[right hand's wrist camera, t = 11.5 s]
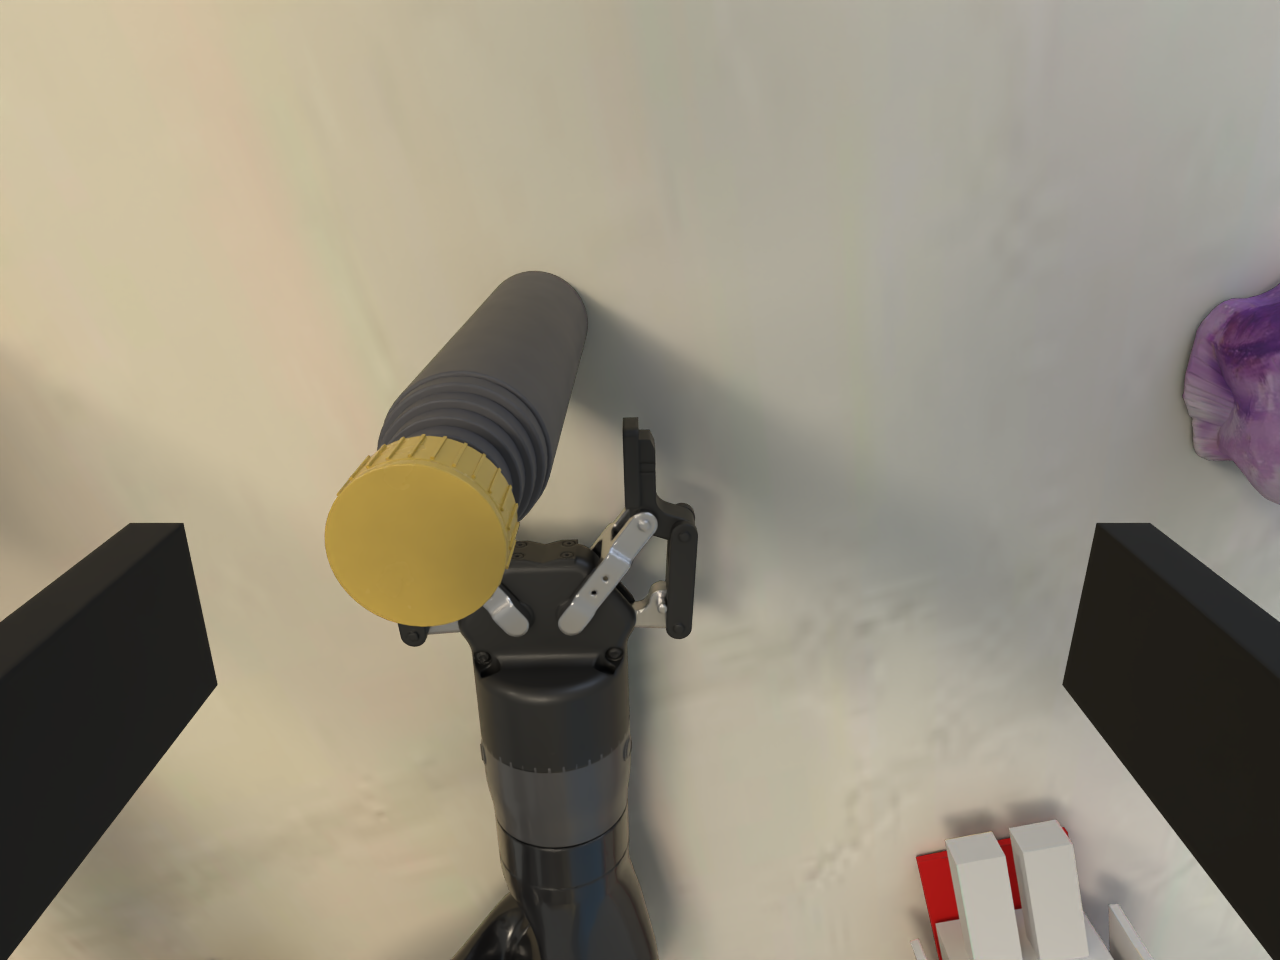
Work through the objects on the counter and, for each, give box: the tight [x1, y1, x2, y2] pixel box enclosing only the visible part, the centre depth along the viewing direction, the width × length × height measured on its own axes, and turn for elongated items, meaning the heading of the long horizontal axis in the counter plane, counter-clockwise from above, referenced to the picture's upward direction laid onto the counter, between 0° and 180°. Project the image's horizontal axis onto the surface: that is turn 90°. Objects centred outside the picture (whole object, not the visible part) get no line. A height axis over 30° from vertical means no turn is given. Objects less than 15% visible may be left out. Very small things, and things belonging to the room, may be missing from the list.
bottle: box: [377, 271, 588, 522], centre depth 31 cm, size 5×5×24 cm
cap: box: [325, 434, 520, 627], centre depth 20 cm, size 4×4×2 cm
